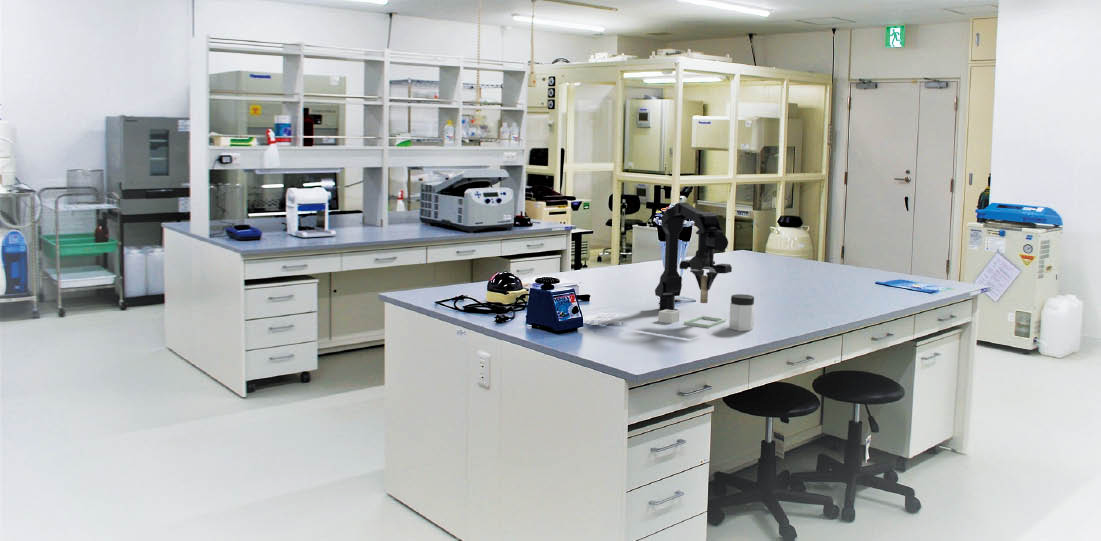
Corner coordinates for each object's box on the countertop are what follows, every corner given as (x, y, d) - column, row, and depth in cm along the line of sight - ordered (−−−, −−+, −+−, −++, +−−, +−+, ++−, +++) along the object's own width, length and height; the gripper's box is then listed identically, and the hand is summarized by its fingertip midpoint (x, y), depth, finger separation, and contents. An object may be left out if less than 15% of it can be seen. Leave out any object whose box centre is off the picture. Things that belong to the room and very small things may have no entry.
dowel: (702, 301, 330) (703, 274, 328) (708, 302, 328) (709, 275, 327) (699, 302, 328) (699, 275, 326) (705, 303, 326) (706, 276, 325)
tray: (701, 320, 338) (701, 315, 337) (725, 323, 332) (726, 319, 332) (684, 326, 327) (684, 321, 326) (708, 330, 321) (708, 325, 320)
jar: (732, 325, 330) (734, 293, 328) (754, 327, 326) (756, 295, 324) (727, 329, 322) (728, 297, 320) (749, 332, 318) (751, 299, 316)
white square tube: (665, 321, 335) (666, 309, 335) (678, 323, 332) (679, 311, 331) (658, 323, 331) (658, 311, 330) (671, 325, 328) (671, 313, 327)
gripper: (672, 247, 324) (671, 289, 326) (718, 251, 313) (717, 295, 315) (687, 244, 333) (686, 286, 335) (733, 249, 322) (731, 291, 324)
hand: (704, 289), depth 327 cm, fingers closed on dowel, 3 cm apart
